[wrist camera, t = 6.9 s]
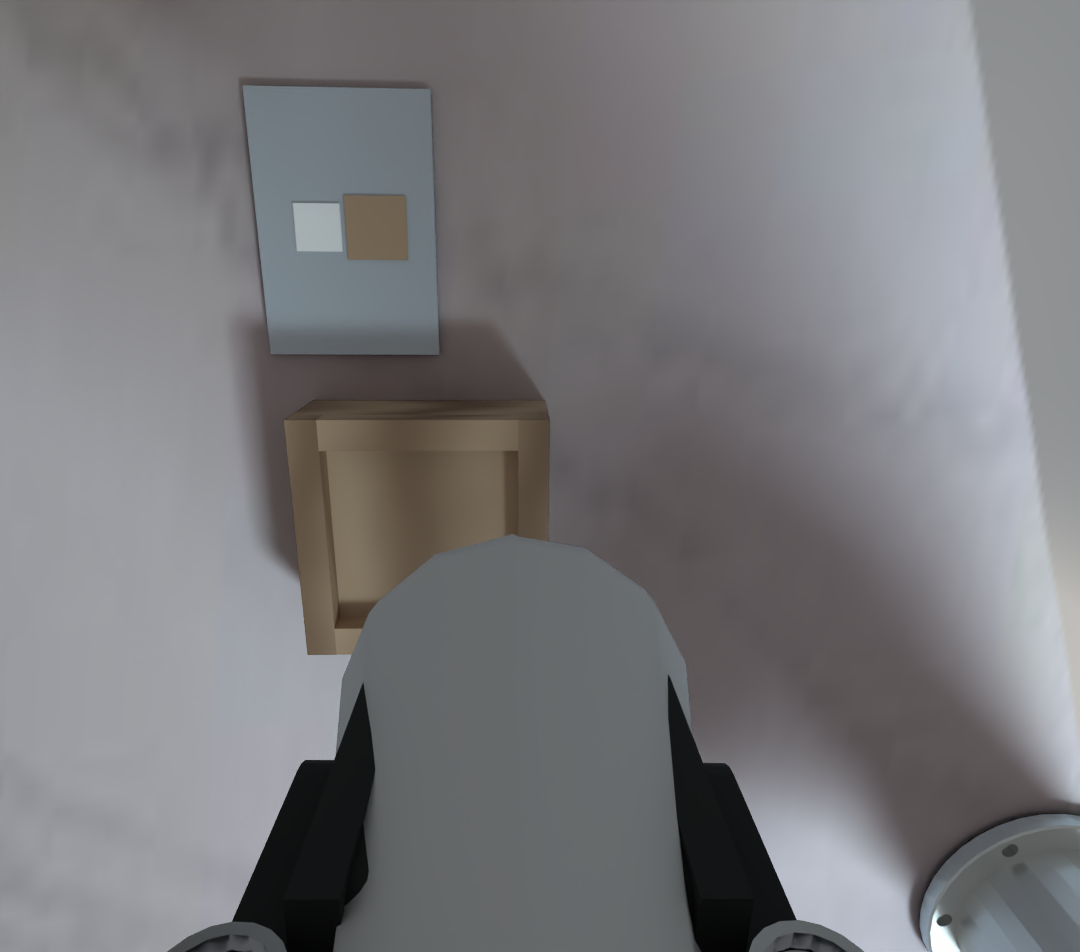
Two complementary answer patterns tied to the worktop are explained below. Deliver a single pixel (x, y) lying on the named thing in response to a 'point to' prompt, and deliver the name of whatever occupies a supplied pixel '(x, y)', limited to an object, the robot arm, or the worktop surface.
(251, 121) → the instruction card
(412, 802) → the salt shaker
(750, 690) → the worktop surface
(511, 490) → the wooden crate
